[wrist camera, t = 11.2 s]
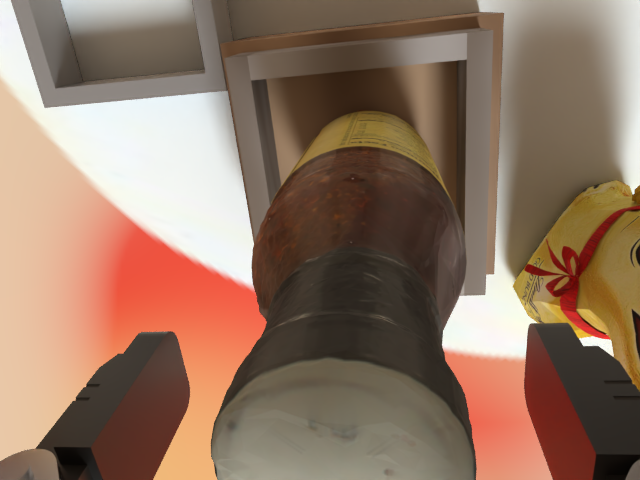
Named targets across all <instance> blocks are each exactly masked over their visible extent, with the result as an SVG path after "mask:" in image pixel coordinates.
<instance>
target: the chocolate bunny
mask: <svg viewBox="0 0 640 480" xmlns="http://www.w3.org/2000/svg"><path fill="white" fill-rule="evenodd" d="M513 288H514V290H515V291H516V293H517V295H518V297H519V299H520V301H521V303H522V305H523V307H524V309H525V310H526V312H527V314H528V316H530V317H531V318H532V319H534V320H535V321H536V322H537V323H569V324H570V325H571V327H572V328H573V330H574V332H575V333H576V335H577V337H578V338H584V337H590V336H595V337H598V338H602V339H611V341H612V346H613V352H614V358H615V359H617V360H618V361H619V362H620V363H621V365H622V366H623V368H624V369H625V370H626V372H627V373H628V375H629V376H630V378H631V379H632V383H633V384H635V385H636V387H637V388H638V390H639V391H640V185H639V186H638V187H637V188H636V189H635V194H634V195H632V192H631V189H630V186H628V185H626V184H624V183H622V182H620V181H617V180H615V181H611V182H607V183H604V184H600V185H596V186H592V187H589V188H586V189H585V190H584V191H583V192H582V193H581V194H579V195H578V196H577V197H576V198H575V199H574V201H573V202H572V203H571V204H570V205H569V207H568V208H567V209H566V210H565V211H564V212H563V214H562V215H561V216H560V217H559V218H558V220H557V221H556V223H555V224H554V225H553V227H552V228H551V230H550V231H549V233H548V234H547V235H546V237H545V238H544V240H543V241H542V242H541V244H540V245H539V247H538V248H537V250H536V251H535V252H534V254H533V255H532V257H531V258H530V260H529V261H528V263H527V264H526V266H525V267H524V269H523V270H522V272H521V273H520V274H519V276H518V277H517V279H516V281H515V283H514V285H513ZM605 334H607V335H608V336H607V335H605Z"/></svg>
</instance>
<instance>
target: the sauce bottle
mask: <svg viewBox="0 0 640 480" xmlns="http://www.w3.org/2000/svg"><path fill="white" fill-rule="evenodd" d="M466 265H467V257H466V245H465V236H464V232H463V229H462V225H461V222H460V219H459V216H458V214H457V212H456V209H455V207H454V204H453V202H452V200H451V198H450V196H449V194H448V192H447V190H446V188H445V186H444V183H443V181H442V178H441V176H440V173H439V171H438V169H437V167H436V165H435V163H434V160H433V158H432V156H431V154H430V151H429V149H428V147H427V145H426V144H425V142H424V140H423V139H422V137H421V136H420V135H419V134H418V132H417V131H416V130H415V129H414V128H413V127H412V126H410V125H409V124H408V123H407V122H405V121H404V120H402V119H400V118H399V117H397V116H395V115H392V114H388V113H384V112H379V111H373V110H358V111H357V112H354V113H350V114H347V115H343V116H341V117H339V118H337V119H335V120H333V121H332V122H330V123H329V124H328V125H326V126H325V127H324V128H322V130H321V131H320V133H319V135H318V136H316V137H315V138H314V139H313V140H312V142H311V143H310V144H309V146H308V147H307V148H306V150H305V152H304V153H303V155H302V156H301V157H300V159H299V160H298V162H297V163H296V165H295V166H294V168H293V169H292V171H291V172H290V174H289V175H288V177H287V178H286V180H285V181H284V183H283V184H282V185H281V187H280V189H279V190H278V192H277V193H276V195H275V197H274V199H273V201H272V204H271V206H270V208H269V209H268V210H267V213H266V215H265V218H264V220H263V222H262V223H261V225H260V229H259V232H258V234H257V236H256V240H255V244H254V247H253V256H252V278H253V285H254V289H255V292H256V295H257V302H258V304H259V311H260V313H261V314H262V315H263V317H264V318H265V319H266V321H267V324H266V328H265V330H264V332H263V334H262V336H261V338H260V339H259V340H258V341H257V342H256V344H255V345H254V347H253V349H252V351H251V352H250V353H249V355H248V356H247V357H246V358H245V360H244V361H243V363H242V364H241V365H240V367H239V368H238V370H237V372H236V374H235V376H234V379H233V381H232V384H231V385H230V387H229V389H228V390H227V392H226V395H225V397H224V400H223V403H222V406H221V408H220V411H219V414H218V416H217V418H216V420H215V422H214V427H213V433H212V439H211V457H212V459H213V462H214V466H215V473H216V477H217V479H218V480H476V458H475V450H474V444H473V439H472V428H471V424H470V420H469V414H468V408H467V403H466V398H465V394H464V392H463V389H462V387H461V385H460V384H459V382H458V380H457V378H456V377H455V375H454V373H453V372H452V370H451V369H450V367H449V366H448V364H447V363H446V361H445V355H444V351H443V348H442V337H443V330H444V327H445V325H446V323H447V321H448V319H449V317H450V315H451V313H452V311H453V309H454V307H455V305H456V303H457V300H458V298H459V296H460V293H461V290H462V287H463V284H464V280H465V274H466Z"/></svg>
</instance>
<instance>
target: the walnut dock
mask: <svg viewBox="0 0 640 480" xmlns="http://www.w3.org/2000/svg"><path fill="white" fill-rule="evenodd" d="M503 20H504V13H490V12H477V13H468V14H459V15H450V16H441V17H432V18H422V19H413V20H404V21H395V22H386V23H377V24H368V25H359V26H349V27H340V28H331V29H322V30H313V31H304V32H295V33H286V34H276V35H267V36H258V37H249V38H245V39H240V40H235V41H231V42H226V43H221V44H220V47H221V53H222V59H223V65H224V70H225V76H226V82H227V88H228V94H229V100H230V106H231V111H232V117H233V123H234V129H235V135H236V141H237V147H238V152H239V158H240V164H241V170H242V176H243V182H244V188H245V193H246V199H247V205H248V211H249V217H250V223H251V229H252V234H253V240H254V244H255V240H256V236H257V234H258V232H259V229H260V225H261V223H262V222H263V220H264V218H265V215H266V213H267V210H268V209H269V208H270V206H271V204H272V201H273V199H274V197H275V195H276V193H277V192H278V190H279V189H280V187H281V185H282V184H283V183H284V181H285V180H286V178H287V177H288V175H289V174H290V172H291V171H292V169H293V168H294V166H295V165H296V163H297V162H298V160H299V159H300V157H301V156H302V155H303V153H304V152H305V150H306V148H307V147H308V146H309V144H310V143H311V142H312V140H313V139H314V138H315V137H316V136H318V135H319V133H320V131H321V130H322V128H324V127H325V126H326V125H328V124H329V123H330V122H332V121H333V120H335V119H337V118H339V117H341V116H343V115H347V114H350V113H354V112H357V111H358V110H373V111H379V112H384V113H388V114H392V115H395V116H397V117H399V118H400V119H402V120H404V121H405V122H407V123H408V124H409V125H410V126H412V127H413V128H414V129H415V130H416V131H417V132H418V134H419V135H420V136H421V137H422V139H423V140H424V142H425V144H426V145H427V147H428V149H429V151H430V154H431V156H432V158H433V160H434V163H435V165H436V167H437V169H438V171H439V173H440V176H441V178H442V181H443V183H444V186H445V188H446V190H447V192H448V194H449V196H450V198H451V200H452V202H453V204H454V207H455V209H456V212H457V214H458V216H459V219H460V222H461V225H462V229H463V232H464V236H465V245H466V257H467V265H466V274H465V280H464V284H463V287H462V290H461V293H460V296H467V295H485V289H486V274H494V262H495V235H496V208H497V181H498V155H499V128H500V101H501V74H502V47H503Z"/></svg>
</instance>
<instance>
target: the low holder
mask: <svg viewBox="0 0 640 480" xmlns="http://www.w3.org/2000/svg"><path fill="white" fill-rule="evenodd" d="M11 2H12V5H13V8H14V12H15V15H16V18H17V21H18V24H19V27H20V31H21V34H22V37H23V40H24V43H25V47H26V50H27V53H28V56H29V59H30V62H31V66H32V69H33V72H34V75H35V78H36V81H37V85H38V88H39V91H40V94H41V97H42V101H43V104H44V107H45V108H48V107H59V106H69V105H80V104H90V103H101V102H111V101H122V100H132V99H143V98H153V97H164V96H174V95H185V94H196V93H206V92H217V91H227V90H228V88H227V82H226V76H225V70H224V65H223V59H222V53H221V47H220V44H221V43H226V42H231V41H233V36H232V30H231V23H230V17H229V11H228V5H227V0H192V3H193V8H194V14H195V19H196V24H197V30H198V35H199V41H200V46H201V51H202V57H203V62H204V67H205V69H204V70H194V71H184V72H174V73H164V74H155V75H145V76H135V77H125V78H115V79H105V80H96V81H86V82H83V80H82V77H81V73H80V69H79V66H78V62H77V59H76V55H75V51H74V48H73V44H72V41H71V37H70V34H69V30H68V26H67V23H66V19H65V16H64V12H63V9H62V5H61V1H60V0H11Z"/></svg>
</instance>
